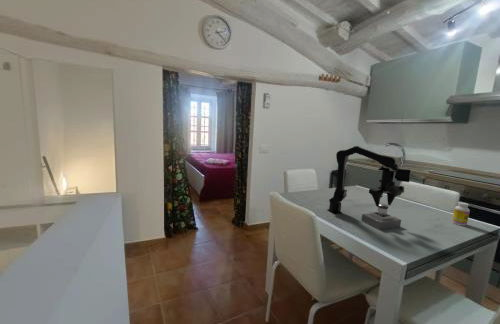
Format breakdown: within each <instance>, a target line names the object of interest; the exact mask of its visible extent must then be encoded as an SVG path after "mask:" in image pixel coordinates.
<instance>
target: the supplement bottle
mask: <svg viewBox="0 0 500 324" xmlns="http://www.w3.org/2000/svg"><path fill="white" fill-rule="evenodd" d="M469 205H470V204H469V203H466V202H461V201H458V202H457V205H456V206H454V210H453V215H452V220H451V222H452V223H453V224H455V225H458V226H463V227H464V226H465V227H466V226H467V225H468V221H469V217H470V212H471V210H470V209H469V208H468V207H469Z"/></svg>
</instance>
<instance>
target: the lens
mask: <svg viewBox="0 0 500 324" xmlns="http://www.w3.org/2000/svg"><path fill="white" fill-rule="evenodd" d="M376 210H377V211H376V212H377V215H379V216H381V217H387V214H388V211H389V205H388V204H384V203H379V206H378V207H377V209H376Z"/></svg>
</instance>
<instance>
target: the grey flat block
mask: <svg viewBox="0 0 500 324" xmlns="http://www.w3.org/2000/svg"><path fill="white" fill-rule="evenodd" d="M361 221H362V222H363V223H365V224H367V225H369V226H371V227H373V228H375V229H377V230H386V229H392V228H393V229H394V228H399V227H401V222H402V219H400V218H397V217H396V216H393V215H392V214H388V213H387V217H381V216H379V215H377V211H371V212H369V213H361Z"/></svg>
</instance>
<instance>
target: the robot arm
mask: <svg viewBox="0 0 500 324" xmlns="http://www.w3.org/2000/svg"><path fill="white" fill-rule="evenodd" d="M354 154H358V155H360V156H363V157H365V158H368V159H371V160H373V161H375V162H377V163H378V164H380V165H382V166H380V168H378V171H382V172H381V178H380V179H379V180H378V182H380V186H378V187H377V188H376V187H371V188H369V189H368V193H369V194H370V196H372V197H371V198H372V199H373V201H374V204H375V206H376V207H377V208H378V206H379V204H380V202H381V199H382V198H383V195H384V194H386V198H387V205H388V207H389V206H390V207H391V205H392V203H393V201H394V200H395V198H397V197H398V196H401V195H402V194H403V193H404V192H405V187H404V186H403V185H396V182H395V181H394V180H396V181H397V182H404V183H410V180H411V171H412V170H411V169H410V168H409V169H408V168H407V169H404V168H400V167H399V165H398V164H397V159H396V158H395V157H394V156H391V155H386V154H379V153H376V152H374V151H371V150H368V149H366V148H363V147H361V146H360V145H355V146H353V147H350V148H348V149H342V150H338V151H337V152H336V154H335V155H336V162H337V175H336V187H335V189H334V192H333V197H331V198H330V199H329V208H328V209H326V210H327V211H328V212H330V213H332V214H342V213H343V211H341V210H342V201H343V200H345V199H346V197H347V196H348V194H347V193H348V190H347V189H345V177H346V176H345V175H346V166H347V165H346V164H347V163H348V160H349V156H352V155H354Z"/></svg>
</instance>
